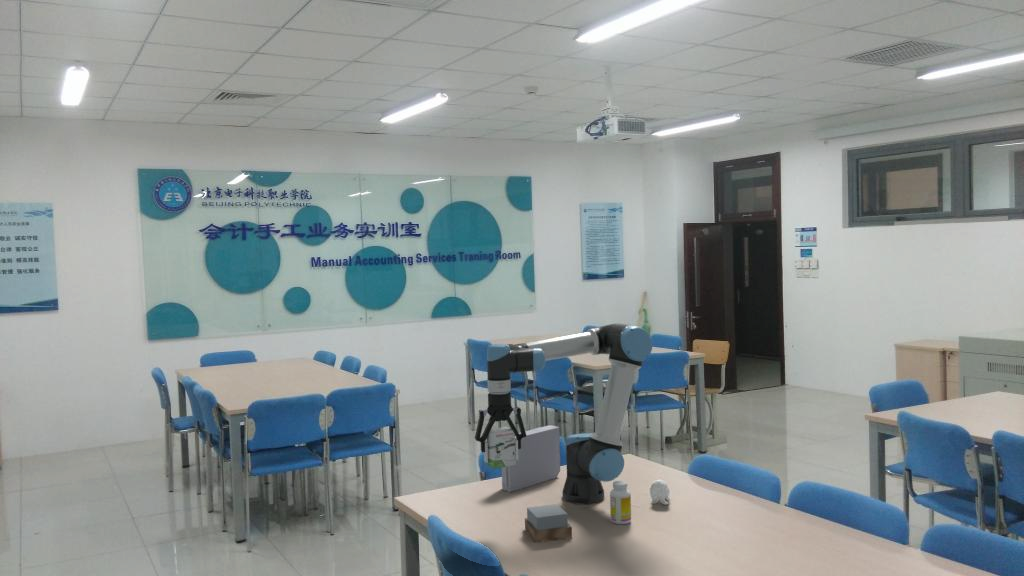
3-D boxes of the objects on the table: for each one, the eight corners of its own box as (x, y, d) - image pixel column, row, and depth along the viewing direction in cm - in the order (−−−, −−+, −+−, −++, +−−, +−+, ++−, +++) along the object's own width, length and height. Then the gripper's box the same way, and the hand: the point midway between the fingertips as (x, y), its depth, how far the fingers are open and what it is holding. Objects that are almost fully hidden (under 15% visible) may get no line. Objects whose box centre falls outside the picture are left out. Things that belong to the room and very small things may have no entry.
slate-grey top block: (556, 516, 246) (556, 504, 246) (567, 526, 236) (567, 513, 236) (527, 520, 243) (526, 507, 243) (537, 530, 233) (537, 517, 233)
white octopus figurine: (648, 480, 264) (655, 474, 276) (648, 505, 264) (655, 498, 275) (666, 482, 262) (673, 475, 273) (666, 507, 262) (673, 499, 273)
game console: (499, 489, 288) (498, 437, 287) (550, 473, 306) (548, 424, 305) (510, 492, 283) (508, 439, 282) (560, 476, 302) (559, 427, 301)
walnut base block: (560, 526, 248) (560, 514, 247) (572, 539, 236) (571, 526, 236) (525, 530, 245) (524, 518, 245) (534, 544, 233) (534, 531, 233)
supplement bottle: (633, 519, 251) (632, 481, 251) (627, 526, 245) (627, 486, 245) (614, 516, 254) (613, 478, 253) (608, 523, 248) (607, 484, 247)
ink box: (494, 469, 244) (493, 432, 243) (486, 465, 248) (485, 430, 247) (516, 464, 248) (515, 428, 248) (508, 461, 252) (507, 426, 252)
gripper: (467, 396, 241) (469, 466, 242) (535, 391, 246) (536, 460, 247) (463, 392, 248) (466, 460, 249) (529, 388, 253) (531, 454, 254)
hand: (501, 460), depth 248 cm, fingers closed on ink box, 9 cm apart
